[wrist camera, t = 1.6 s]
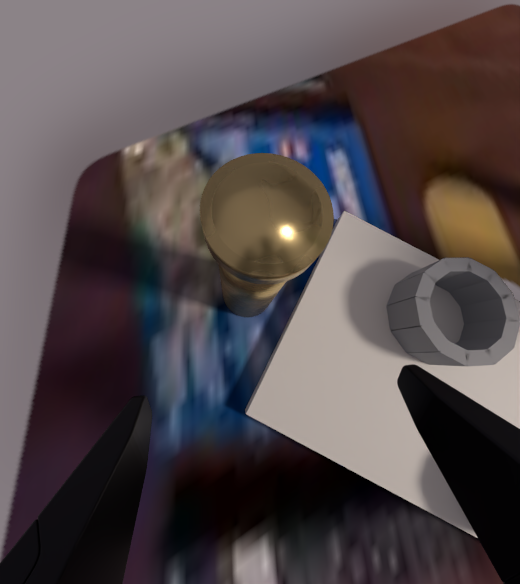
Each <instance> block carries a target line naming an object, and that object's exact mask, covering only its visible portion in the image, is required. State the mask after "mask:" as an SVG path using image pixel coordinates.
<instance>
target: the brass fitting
mask: <svg viewBox="0 0 520 584" xmlns="http://www.w3.org/2000/svg"><path fill="white" fill-rule="evenodd" d="M200 219H201V223H202V228H203V232H204V237H205V241H206V244H207V246H208V249H209V251H210V253H211V254H212V256H213V257H214V259H215V260H216V262H217V263H218V264H219V270H220V277H221V285H222V292H223V298H224V301H225V304H226V306H227V307H228V308H229V309H230V310H231V311H232V312H233V313H235V314H236V315H239V316H242V317H253V316H256V315H259V314H261V313H262V312H263V311H264V310H265V309H266V308H267V307H268V306H269V304H270V303H271V302H272V300H273V299H274V297H275V296H276V295H277V293H278V292H279V291H280V289H281V288H282V287H283V285H284V284H285V282H286V281H288V280H291V279H293V278H295V277H297V276H299V275H300V274H301V273H303V272H304V271H305V270H306V269H307V268H308V267H309V266H310V265H311V264H312V263H313V262H314V261H315V260H316V258H317V257H318V256H319V255H320V254H321V252H322V251H323V250H324V248H325V247H326V245H327V243H328V241H329V239H330V236H331V233H332V229H333V221H334V217H333V208H332V203H331V200H330V197H329V195H328V193H327V191H326V189H325V187H324V186H323V184H322V182H321V181H320V180H319V179H318V178H317V176H316V175H314V174H313V173H312V172H311V171H310V170H309V169H308V168H306V167H305V166H304V165H302V164H300V163H298V162H297V161H294V160H292V159H290V158H287V157H284V156H281V155H276V154H268V153H256V154H249V155H245V156H241V157H238V158H236V159H233V160H231V161H230V162H228V163H226V164H225V165H223V166H222V167H221V168H219V169H218V170H217V171H216V172H215V173H214V174H213V176H212V177H211V178H210V179H209V181H208V183H207V185H206V186H205V189H204V191H203V194H202V198H201V202H200Z"/></svg>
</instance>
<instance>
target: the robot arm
mask: <svg viewBox="0 0 520 584" xmlns="http://www.w3.org/2000/svg"><path fill="white" fill-rule="evenodd" d="M397 385H398V388H399V390H400V393H401V395H402V397H403V399H404V402H405V404H406V406H407V408H408V411H409V413H410V415H411V417H412V420H413V422H414V424H415V426H416V428H417V430H418V432H419V434H420V435H421V437H422V439H423V441H424V443H425V444H426V446H427V448H428V450H429V452H430V453H431V455H432V457H433V459H434V460H435V462H436V464H437V466H438V468H439V469H440V471H441V473H442V475H443V477H444V478H445V480H446V482H447V484H448V486H449V487H450V489H451V491H452V493H453V494H454V496H455V498H456V500H457V502H458V503H459V505H460V507H461V509H462V511H463V512H464V514H465V516H466V518H467V519H468V521H469V523H470V525H471V527H472V528H473V530H474V532H475V534H476V536H477V537H478V539H479V541H480V543H481V544H482V546H483V548H484V550H485V552H486V553H487V555H488V557H489V559H490V561H491V562H492V564H493V566H494V568H495V570H496V571H497V573H498V575H499V577H500V578H501V580H502V581H503V584H520V429H519V428H517V427H516V426H514V425H513V424H511V423H509V422H508V421H506V420H505V419H503V418H501V417H500V416H498V415H497V414H495V413H493V412H492V411H490V410H488V409H487V408H485V407H484V406H482V405H480V404H479V403H477V402H476V401H474V400H472V399H471V398H469V397H467V396H466V395H464V394H463V393H461V392H459V391H458V390H456V389H455V388H453V387H451V386H450V385H448V384H447V383H445V382H443V381H442V380H440V379H438V378H437V377H435V376H434V375H432V374H430V373H429V372H427V371H426V370H424V369H422V368H421V367H419V366H417V365H415V364H411V365H404V366H403V367H402V369H401V372H400V374H399V377H398V379H397ZM151 423H152V410H151V407H150V404H149V401H148V399H147V397H146V396H145V395H143V396H135V397H132V398H131V399H130V400H129V402H128V403H127V404H126V406H125V407H124V408H123V409H122V411H121V412H120V413H119V414H118V416H117V417H116V418H115V419H114V421H113V422H112V423H111V425H110V426H109V427H108V428H107V430H106V431H105V432H104V433H103V435H102V436H101V437H100V438H99V440H98V441H97V442H96V444H95V445H94V446H93V447H92V449H91V450H90V451H89V452H88V454H87V455H86V456H85V457H84V459H83V460H82V461H81V463H80V464H79V465H78V466H77V468H76V469H75V470H74V471H73V473H72V474H71V475H70V476H69V478H68V479H67V480H66V482H65V483H64V484H63V485H62V487H61V488H60V489H59V490H58V492H57V493H56V494H55V495H54V497H53V498H52V499H51V501H50V502H49V503H48V504H47V506H46V507H45V508H44V509H43V511H42V512H41V513H40V514H39V516H38V520H35V521H34V522H33V523H32V524H31V526H30V527H29V528H28V529H27V531H26V532H25V533H24V535H23V536H22V537H21V538H20V540H19V541H18V542H17V543H16V544H15V546H14V547H13V548H12V549H11V551H10V552H9V553H8V554H7V555H6V557H5V558H4V559H3V560H2V562H1V563H0V584H122V583H123V578H124V573H125V568H126V564H127V559H128V554H129V550H130V545H131V540H132V535H133V531H134V526H135V521H136V516H137V512H138V507H139V502H140V498H141V493H142V488H143V483H144V479H145V474H146V468H147V461H148V452H149V442H150V432H151Z"/></svg>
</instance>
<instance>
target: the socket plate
mask: <svg viewBox="0 0 520 584" xmlns="http://www.w3.org/2000/svg"><path fill="white" fill-rule="evenodd" d="M411 364H415V365H417V366H419V367H421V368H422V369H424V370H426V371H427V372H429V373H430V374H432V375H434V376H435V377H437V378H438V379H440V380H442V381H443V382H445V383H447V384H448V385H450V386H451V387H453V388H455V389H456V390H458V391H459V392H461V393H463V394H464V395H466V396H467V397H469V398H471V399H472V400H474V401H476V402H477V403H479V404H480V405H482V406H484V407H485V408H487V409H488V410H490V411H492V412H493V413H495V414H497V415H498V416H500V417H501V418H503V419H505V420H506V421H508V422H509V423H511V424H513V425H514V426H516V427H517V428H519V429H520V301H518V300H516V299H514V295H513V294H512V292H511V290H510V289H509V288H508V287H507V285H506V284H505V283H504V282H503V281H502V279H501V278H500V277H499V276H498V274H497V273H496V272H495V271H494V270H492V269H490V268H489V267H487V266H485V265H483V264H481V263H479V262H477V261H475V260H473V259H471V258H443V259H441V260H438V259H437V258H435V257H433V256H431V255H429V254H427V253H425V252H423V251H421V250H419V249H417V248H415V247H413V246H411V245H409V244H408V243H406V242H404V241H402V240H400V239H398V238H396V237H394V236H392V235H390V234H388V233H386V232H384V231H382V230H380V229H379V228H377V227H375V226H373V225H371V224H369V223H367V222H365V221H363V220H361V219H359V218H357V217H355V216H353V215H352V214H350V213H348V212H346V211H344V212H343V213H342V214H341V216H340V217H339V218H338V220H337V222H336V224H335V226H334V228H333V230H332V233H331V236H330V239H329V241H328V243H327V245H326V247H325V248H324V250H323V251H322V252H321V255H320V257H319V259H318V261H317V263H316V265H315V267H314V269H313V271H312V273H311V275H310V277H309V279H308V281H307V283H306V285H305V287H304V290H303V292H302V294H301V296H300V298H299V300H298V302H297V304H296V306H295V308H294V310H293V312H292V314H291V316H290V318H289V320H288V322H287V324H286V327H285V329H284V331H283V333H282V335H281V337H280V339H279V341H278V343H277V345H276V347H275V349H274V351H273V353H272V355H271V357H270V359H269V361H268V364H267V366H266V368H265V370H264V372H263V374H262V376H261V378H260V380H259V382H258V384H257V386H256V388H255V390H254V392H253V394H252V396H251V399H250V401H249V403H248V405H247V407H246V409H245V412H246V414H247V415H248V416H250V417H252V418H254V419H256V420H258V421H260V422H262V423H263V424H265V425H267V426H269V427H271V428H273V429H275V430H276V431H278V432H280V433H282V434H284V435H286V436H288V437H290V438H291V439H293V440H295V441H297V442H299V443H301V444H303V445H304V446H306V447H308V448H310V449H312V450H314V451H316V452H318V453H319V454H321V455H323V456H325V457H327V458H329V459H331V460H333V461H334V462H336V463H338V464H340V465H342V466H344V467H346V468H347V469H349V470H351V471H353V472H355V473H357V474H359V475H361V476H362V477H364V478H366V479H368V480H370V481H372V482H374V483H375V484H377V485H379V486H381V487H383V488H385V489H387V490H389V491H390V492H392V493H394V494H396V495H398V496H400V497H402V498H403V499H405V500H407V501H409V502H411V503H413V504H415V505H417V506H418V507H420V508H422V509H424V510H426V511H428V512H430V513H432V514H433V515H435V516H437V517H439V518H441V519H443V520H445V521H446V522H448V523H450V524H452V525H454V526H456V527H458V528H460V529H461V530H463V531H465V532H467V533H469V534H471V535H473V536H474V537H476V538H478V537H477V536H476V534H475V532H474V530H473V528H472V527H471V525H470V523H469V521H468V519H467V518H466V516H465V514H464V512H463V511H462V509H461V507H460V505H459V503H458V502H457V500H456V498H455V496H454V494H453V493H452V491H451V489H450V487H449V486H448V484H447V482H446V480H445V478H444V477H443V475H442V473H441V471H440V469H439V468H438V466H437V464H436V462H435V460H434V459H433V457H432V455H431V453H430V452H429V450H428V448H427V446H426V444H425V443H424V441H423V439H422V437H421V435H420V434H419V432H418V430H417V428H416V426H415V424H414V422H413V420H412V417H411V415H410V413H409V411H408V408H407V406H406V404H405V402H404V399H403V397H402V395H401V393H400V390H399V388H398V385H397V379H398V377H399V374H400V372H401V369H402V367H403V366H404V365H411Z"/></svg>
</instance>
